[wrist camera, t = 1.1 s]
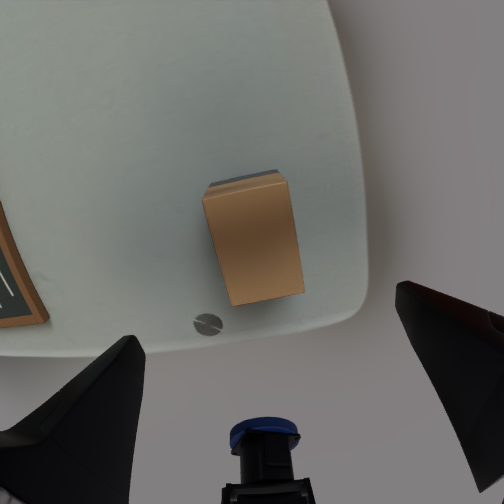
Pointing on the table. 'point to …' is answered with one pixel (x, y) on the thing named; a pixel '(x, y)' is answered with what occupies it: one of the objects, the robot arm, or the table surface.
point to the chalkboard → (16, 285)
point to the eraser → (254, 237)
